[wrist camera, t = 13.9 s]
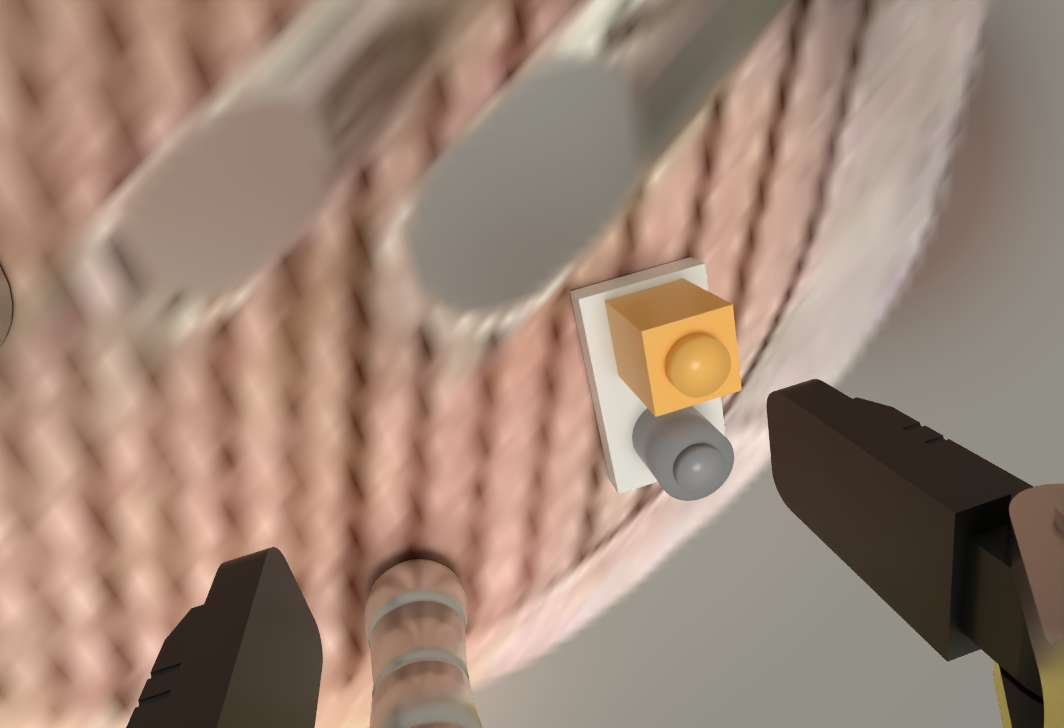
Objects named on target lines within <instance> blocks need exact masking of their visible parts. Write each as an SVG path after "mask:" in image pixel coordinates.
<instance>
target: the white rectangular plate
mask: <svg viewBox="0 0 1064 728" xmlns="http://www.w3.org/2000/svg"><path fill="white" fill-rule="evenodd" d="M679 279H685V280H687V281H689V282H691V283H693V284H695V285H697V286H699V287H700V288H702V289H704V290H706V291H708V284H707V276H706V268H705V263H703V262H701V261H698V260H696V259H694V258H692V257H689V258H685V259H682V260H678V261H675V262H671V263H667V264H664V265H660V266H657V267H653V268H650V269H646V270H643V271H639V272H636V273H632V274H629V275H625V276H622V277H618V278H615V279H611V280H608V281H604V282H601V283H597V284H594V285H590V286H587V287H583V288H580V289H576V290H572V291H570V295H571V300H572V304H573V309H574V314H575V319H576V323H577V328H578V333H579V338H580V343H581V347H582V352H583V357H584V362H585V366H586V371H587V376H588V381H589V385H590V390H591V395H592V400H593V404H594V409H595V414H596V419H597V423H598V428H599V433H600V438H601V443H602V447H603V452H604V457H605V462H606V466H607V471H608V476H609V479H610V481H611V483H612V484H613V486H614V488H615V489H616V491H617V492H618V494H621V493H624V492H627V491H630V490H633V489H636V488H639V487H642V486H645V485H649V484H652V483H655V482H658V481H657V480H656V478H655V477H654V476H653V474H652V473H651V472H650V470H649V469H648V468H647V466H646V465H645V464H644V462H643V461H642V460H641V458H640V457H639V456H638V454H637V453H636V451H635V449H634V446H633V442H632V433H633V429H634V426H635V423H636V421H637V420H638V418H639V417H640V415H641V414H642V413H643V412H644V411H645V410H646V409H647V407H646V406H645V405H644V403H643V402H642V401H641V400H640V399H639V398H638V397H637V396H636V395H635V394H634V392H633V391H632V390H631V389H630V388H629V387H628V386H627V385H626V384H625V382H624V381H623V380H622V379H621V378H620V377H619V375H618V370H617V365H616V359H615V354H614V349H613V343H612V338H611V333H610V327H609V322H608V317H607V311H606V306H605V301H606V300H609V299H613V298H616V297H620V296H623V295H627V294H630V293H634V292H637V291H641V290H644V289H648V288H651V287H655V286H658V285H662V284H665V283H669V282H672V281H676V280H679ZM693 407H694V408H695V409H696V410H697V411H698V412H699V413H700V414H702V415H703V416H704V417H705V418H706V419H707V420H708V421H709V422H710V423H711V424H712V425H713V426H714V427H715V428H717V429H718V430H719V431H720V432H721V433H722V434H723V435H724V436H725V428H724V419H723V411H722V403H721V397H718V398H715V399H712V400H709V401H706V402H702V403H699V404H696V405H693ZM725 437H726V436H725Z"/></svg>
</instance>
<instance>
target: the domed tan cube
mask: <svg viewBox="0 0 1064 728" xmlns="http://www.w3.org/2000/svg"><path fill="white" fill-rule="evenodd" d="M605 306H606V311H607V317H608V322H609V327H610V333H611V338H612V343H613V349H614V354H615V359H616V365H617V370H618V375H619V377H620V378H621V379H622V380H623V381H624V382H625V384H626V385H627V386H628V387H629V388H630V389H631V390H632V391H633V392H634V394H635V395H636V396H637V397H638V398H639V399H640V400H641V401H642V402H643V403H644V405H645V406H646V407H647V408H648V409H649V410H650V411H651V412H652V413H653V415H654V416H655V417H657V416H660V415H664V414H667V413H670V412H673V411H677V410H680V409H683V408H686V407H689V406H693V405H696V404H699V403H702V402H706V401H709V400H712V399H715V398H718V397H722V396H725V395H728V394H731V393H734V392H738V391H741V390H742V389H741V380H740V370H739V360H738V351H737V341H736V331H735V321H734V312H733V304H731V303H729V302H727V301H725V300H723V299H721V298H719V297H717V296H716V295H714V294H712V293H710V292H708V291H706V290H704V289H702V288H700V287H699V286H697V285H695V284H693V283H691V282H689V281H687V280H685V279H679V280H676V281H672V282H669V283H665V284H662V285H658V286H655V287H651V288H648V289H644V290H641V291H637V292H634V293H630V294H627V295H623V296H620V297H616V298H613V299H609V300H606V301H605Z"/></svg>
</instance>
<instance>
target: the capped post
mask: <svg viewBox="0 0 1064 728" xmlns="http://www.w3.org/2000/svg"><path fill="white" fill-rule="evenodd" d="M632 442H633V446H634V449H635V451H636V453H637V454H638V456H639V457H640V458H641V460H642V461H643V462H644V464H645V465H646V466H647V468H648V469H649V470H650V472H651V473H652V474H653V476H654V477H655V478H656V480H657V481H658V482H659V484H660V485H661V486H662V488H663V489H664V490H665V491H666V492H667V493H668V494H669V495H670V496H672V497H674V498H676V499H679V500H686V501H690V500H697V499H701V498H704V497H706V496H708V495H710V494H712V493H713V492H715V491H716V490H717V489H718V488H720V487H721V486H722V485H723V483H724V482H725V481H726V479H727V478H728V476H729V474H730V472H731V470H732V467H733V463H734V452H733V448H732V445H731V443H730V442H729V440H728V439H727V438H726V437H725V436H724V435H723V434H722V433H721V432H720V431H719V430H718V429H717V428H715V427H714V426H713V425H712V424H711V423H710V422H709V421H708V420H707V419H706V418H705V417H704V416H703V415H702V414H700V413H699V412H698V411H697V410H696V409H695V408H694V407H693V406H689V407H686V408H683V409H680V410H677V411H673V412H670V413H667V414H664V415H660V416H657V417H655V416H654V415H653V413H652V412H651V411H650V410H649V409H648V408H647V409H646V410H645V411H644V412H643V413H642V414H641V415H640V417H639V418H638V420H637V421H636V423H635V426H634V429H633V433H632Z"/></svg>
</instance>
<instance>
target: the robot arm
mask: <svg viewBox="0 0 1064 728" xmlns="http://www.w3.org/2000/svg"><path fill="white" fill-rule="evenodd" d="M11 319H12V299H11V294H10V289H9V285H8V283H7V280H6V278H5V276H4V274H3V271H2V269H1V267H0V345H1V344H2V342H3V341H4V339H5V338H6V336H7V333H8V330H9V327H10V324H11ZM767 417H768V428H769V440H770V451H771V463H772V472H773V478H774V481H775V485H776V487H777V490H778V492H779V494H780V496H781V498H782V500H783V501H784V503H785V504H786V505H787V507H788V508H789V509H790V510H791V511H792V512H793V513H794V514H795V515H796V516H797V517H798V518H799V519H800V520H802V522H803V523H804V524H805V525H807V526H808V527H809V528H810V529H811V530H812V531H813V532H814V533H815V534H816V535H817V536H818V537H819V538H820V539H821V540H822V541H823V542H824V543H825V544H826V545H827V546H828V547H829V548H830V549H832V551H834V553H836V554H837V555H838V556H839V557H840V558H841V559H842V560H843V561H844V562H845V563H846V564H847V565H848V566H849V567H850V568H851V569H852V570H853V571H854V572H855V573H856V574H857V575H858V576H860V578H861V579H863V581H865V582H866V583H867V584H868V585H869V586H870V587H871V588H872V589H873V590H874V591H875V592H876V593H877V594H878V595H879V596H880V597H881V598H882V599H883V600H884V601H885V602H886V603H887V604H888V605H889V606H890V607H892V608H893V609H894V610H895V611H896V612H897V613H898V614H899V615H900V616H901V617H902V618H903V619H904V620H905V621H906V622H907V623H908V624H909V625H910V626H911V627H912V628H913V629H914V630H915V631H916V632H917V633H918V634H920V636H921V637H922V638H924V639H925V640H926V641H927V642H928V643H929V644H930V645H931V646H932V647H933V648H934V649H935V650H936V651H937V652H938V653H939V654H940V655H942V657H943V658H944V659H945V660H946V661H950V660H953V659H955V658H958V657H961V656H964V655H966V654H969V653H972V652H974V651H977V650H980V649H982V650H983V651H984V652H985V653H986V654H987V655H989V656H990V657H991V658H992V659H993V660H994V661H995V663H994V674H993V675H994V685H995V690H996V695H997V699H998V705H999V710H1000V715H1001V720H1002V725H1003V728H1064V484H1046V485H1040V486H1035V487H1033V486H1031V485H1030V484H1028V483H1026V482H1024V481H1022V480H1021V479H1019V478H1017V477H1015V476H1014V475H1012V474H1010V473H1008V472H1007V471H1005V470H1003V469H1001V468H999V467H998V466H996V465H994V464H992V463H991V462H989V461H987V460H985V459H983V458H982V457H980V456H978V455H976V454H975V453H973V452H971V451H969V450H968V449H966V448H964V447H962V446H960V445H959V444H956V443H955V442H953V441H951V440H950V439H948V440H945V439H944V438H943V435H941V434H939V433H937V432H936V431H934V430H932V429H930V428H929V427H927V426H923V427H922V426H921V425H920V423H919V422H918V421H916V420H914V419H913V418H911V417H909V416H907V415H905V414H903V413H902V412H900V411H898V410H897V409H895V408H893V407H890V406H887V405H883V404H879V403H875V402H872V401H868V400H865V399H861V398H854V399H852V398H850V397H848V396H846V395H845V394H843V393H841V392H840V391H838V390H836V389H835V388H833V387H831V386H830V385H828V384H826V383H825V382H823V381H821V380H818V379H812V380H809V381H806V382H803V383H799V384H796V385H793V386H790V387H787V388H784V389H780V390H777V391H774V392H772V393H770V394H769V396H768V399H767ZM322 663H323V654H322V644H321V638H320V634H319V630H318V627H317V624H316V622H315V619H314V617H313V615H312V613H311V611H310V609H309V607H308V605H307V603H306V601H305V599H304V597H303V595H302V592H301V590H300V588H299V586H298V584H297V582H296V580H295V578H294V576H293V574H292V572H291V570H290V568H289V566H288V563H287V561H286V559H285V558H284V556H283V554H282V553H281V552H280V550H279V549H277V548H275V547H272V548H268V549H265V550H262V551H259V552H256V553H252V554H249V555H246V556H243V557H240V558H237V559H233V560H230V561H227V562H224V563H222V564H221V565H220V566H219V568H218V570H217V573H216V576H215V578H214V581H213V583H212V586H211V588H210V591H209V594H208V596H207V599H206V601H205V604H204V605H201V606H198V607H195V608H191V610H190V611H189V612H188V613H187V614H186V616H185V617H184V618H183V619H182V620H181V622H180V623H179V624H178V625H177V626H176V628H175V629H174V630H173V631H172V632H171V634H170V635H169V636H168V637H167V638H166V639H165V641H164V643H163V645H162V648H161V650H160V652H159V655H158V657H157V659H156V661H155V664H154V666H153V668H152V671H151V679H148V680H147V682H146V684H145V686H144V689H143V691H142V693H141V696H140V698H139V700H138V701H139V707H136V708H135V709H134V711H133V714H132V716H131V718H130V721H129V723H128V725H127V727H126V728H314V727H315V719H316V711H317V703H318V695H319V688H320V680H321V672H322Z"/></svg>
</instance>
